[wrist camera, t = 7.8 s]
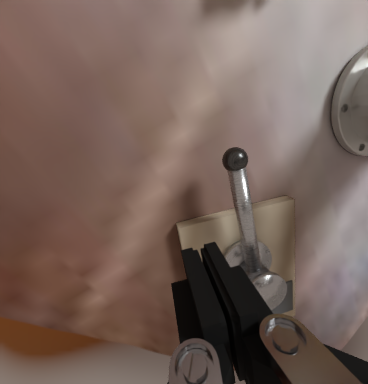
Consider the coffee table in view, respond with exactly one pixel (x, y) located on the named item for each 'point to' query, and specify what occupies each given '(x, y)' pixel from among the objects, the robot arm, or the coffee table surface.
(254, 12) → the coffee table surface
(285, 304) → the stand
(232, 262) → the ball-knob lever handle
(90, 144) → the coffee table surface
